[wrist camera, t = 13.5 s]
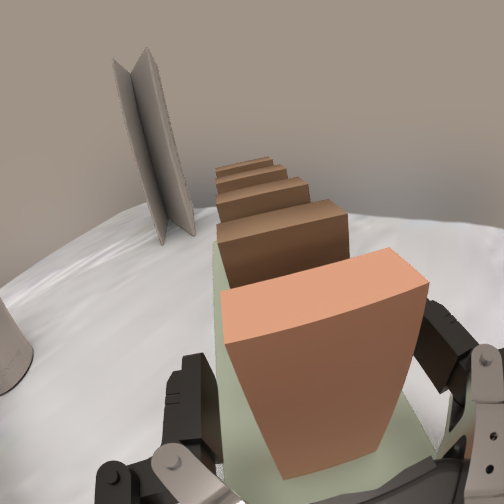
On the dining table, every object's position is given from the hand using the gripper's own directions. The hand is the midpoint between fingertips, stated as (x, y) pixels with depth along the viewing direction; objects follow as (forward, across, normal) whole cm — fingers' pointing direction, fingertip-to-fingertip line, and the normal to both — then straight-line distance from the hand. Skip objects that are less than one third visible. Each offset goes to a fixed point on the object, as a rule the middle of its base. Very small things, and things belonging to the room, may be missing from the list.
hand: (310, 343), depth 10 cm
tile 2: (+3, 0, +7) cm, 8 cm away
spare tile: (-2, 0, +7) cm, 7 cm away
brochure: (+40, +12, +8) cm, 43 cm away
